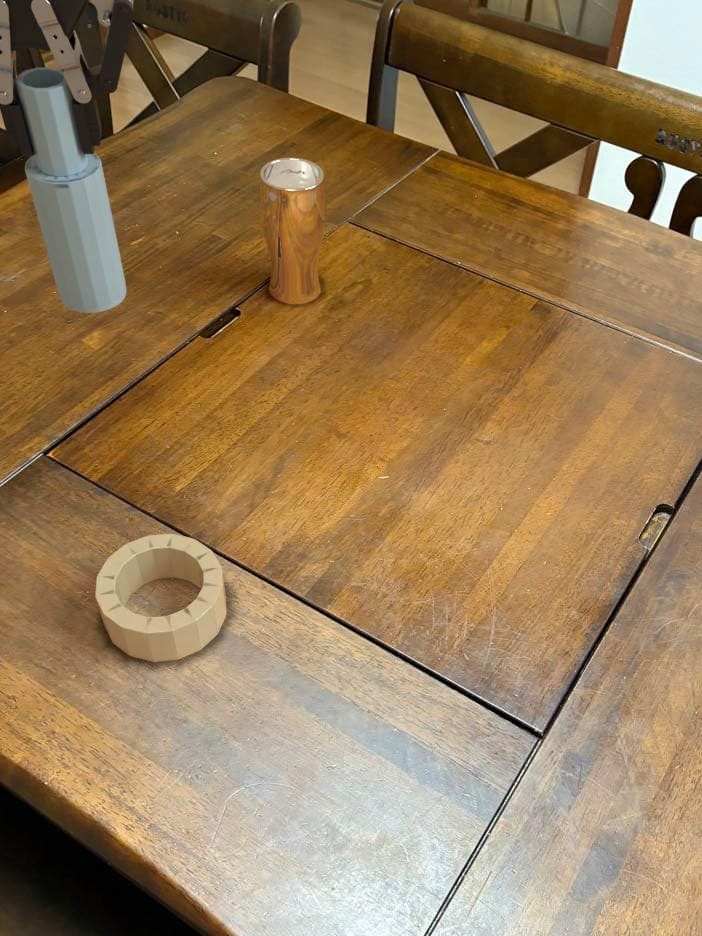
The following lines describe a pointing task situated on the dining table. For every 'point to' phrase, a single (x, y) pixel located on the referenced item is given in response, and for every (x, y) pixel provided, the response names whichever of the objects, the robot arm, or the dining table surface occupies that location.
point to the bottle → (69, 197)
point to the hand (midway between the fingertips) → (58, 148)
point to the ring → (148, 564)
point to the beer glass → (293, 226)
